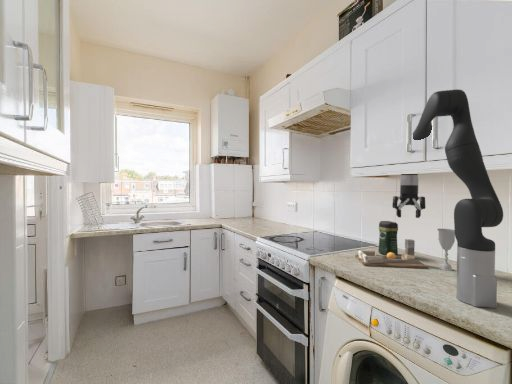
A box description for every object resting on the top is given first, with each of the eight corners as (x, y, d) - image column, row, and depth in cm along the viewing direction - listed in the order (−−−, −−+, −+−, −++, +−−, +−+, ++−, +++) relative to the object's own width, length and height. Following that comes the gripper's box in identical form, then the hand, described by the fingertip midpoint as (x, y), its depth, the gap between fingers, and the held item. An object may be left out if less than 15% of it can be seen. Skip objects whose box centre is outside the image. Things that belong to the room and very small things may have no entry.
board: (428, 268, 114) (428, 260, 114) (364, 265, 117) (364, 257, 117) (411, 259, 130) (411, 251, 130) (355, 256, 133) (355, 249, 133)
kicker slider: (415, 261, 120) (415, 241, 120) (406, 261, 120) (406, 240, 120) (410, 258, 125) (410, 239, 125) (401, 258, 125) (402, 238, 125)
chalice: (443, 266, 119) (443, 228, 118) (459, 270, 112) (460, 230, 112) (433, 267, 116) (433, 229, 116) (449, 272, 109) (449, 231, 109)
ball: (397, 261, 121) (397, 253, 121) (388, 261, 122) (388, 253, 122) (393, 259, 125) (393, 251, 125) (385, 259, 126) (385, 251, 126)
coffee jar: (400, 256, 136) (401, 222, 136) (388, 256, 134) (388, 222, 134) (387, 251, 145) (388, 220, 145) (375, 252, 144) (376, 220, 144)
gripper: (397, 184, 119) (396, 218, 119) (429, 184, 118) (428, 218, 118) (390, 184, 126) (389, 216, 127) (420, 184, 125) (419, 216, 125)
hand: (408, 217), depth 122 cm, fingers open, 8 cm apart
